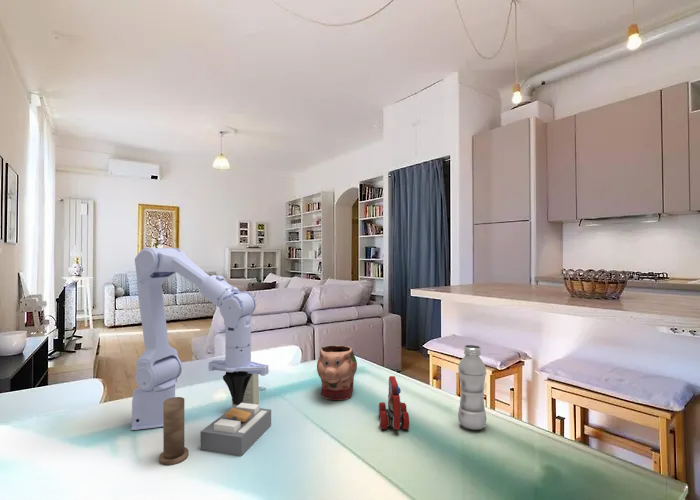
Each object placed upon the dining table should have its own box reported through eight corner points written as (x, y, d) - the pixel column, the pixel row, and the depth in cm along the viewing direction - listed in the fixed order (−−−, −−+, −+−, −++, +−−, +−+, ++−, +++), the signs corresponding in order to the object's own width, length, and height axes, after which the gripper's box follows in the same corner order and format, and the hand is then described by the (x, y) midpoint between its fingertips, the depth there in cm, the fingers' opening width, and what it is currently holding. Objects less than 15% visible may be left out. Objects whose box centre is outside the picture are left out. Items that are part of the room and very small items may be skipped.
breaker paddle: (224, 419, 86) (225, 413, 86) (231, 413, 89) (232, 407, 89) (243, 425, 85) (244, 418, 85) (250, 419, 88) (251, 412, 88)
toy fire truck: (381, 436, 88) (381, 392, 88) (378, 412, 100) (378, 374, 100) (411, 436, 88) (411, 392, 87) (404, 412, 100) (404, 374, 100)
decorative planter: (321, 380, 124) (321, 338, 124) (357, 381, 123) (357, 339, 123) (312, 406, 104) (312, 356, 104) (356, 407, 103) (356, 357, 103)
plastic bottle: (488, 435, 88) (489, 351, 88) (458, 432, 90) (459, 349, 89) (484, 422, 95) (484, 344, 94) (456, 419, 96) (457, 342, 96)
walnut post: (156, 467, 75) (156, 407, 75) (162, 452, 80) (162, 397, 80) (186, 463, 76) (186, 404, 76) (190, 448, 82) (190, 394, 82)
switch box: (200, 449, 81) (200, 425, 81) (235, 420, 95) (235, 399, 95) (241, 456, 79) (241, 430, 79) (271, 425, 92) (271, 403, 92)
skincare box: (259, 408, 102) (259, 364, 102) (253, 415, 98) (253, 369, 98) (237, 407, 103) (237, 363, 103) (230, 414, 98) (230, 368, 98)
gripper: (200, 347, 85) (200, 406, 85) (258, 351, 81) (258, 413, 81) (218, 339, 91) (218, 394, 92) (272, 343, 88) (272, 400, 88)
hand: (238, 403), depth 87 cm, fingers closed
